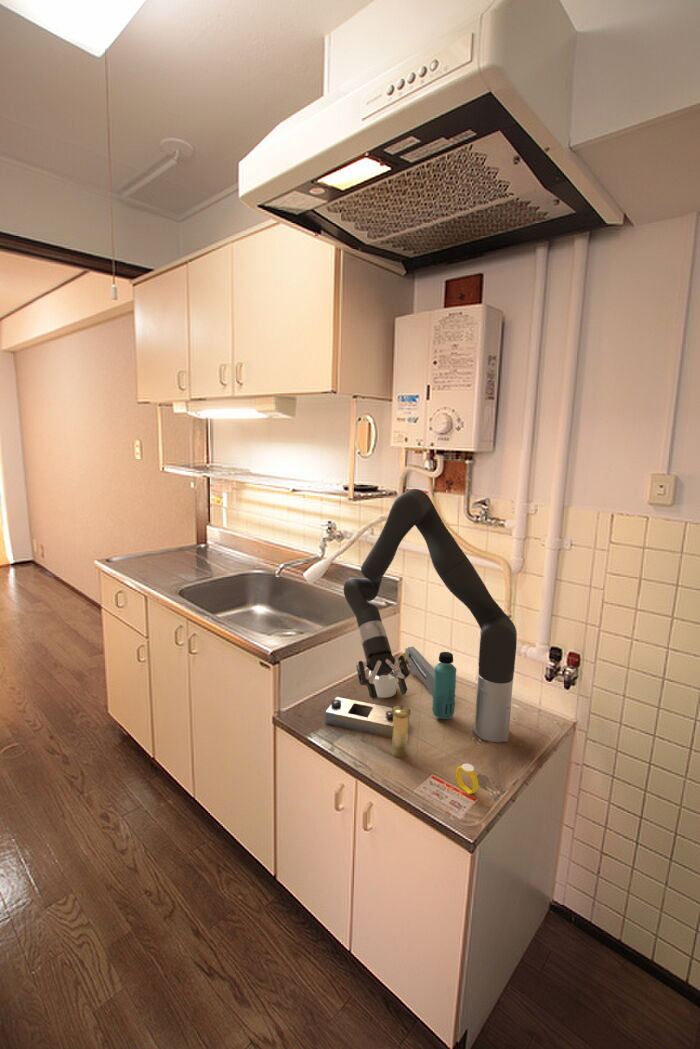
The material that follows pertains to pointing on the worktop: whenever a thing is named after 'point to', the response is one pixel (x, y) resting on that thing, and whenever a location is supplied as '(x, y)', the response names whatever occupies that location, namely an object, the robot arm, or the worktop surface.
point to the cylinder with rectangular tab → (385, 685)
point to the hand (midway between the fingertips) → (389, 696)
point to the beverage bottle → (444, 687)
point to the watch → (470, 770)
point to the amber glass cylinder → (400, 730)
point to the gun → (420, 667)
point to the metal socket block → (360, 716)
